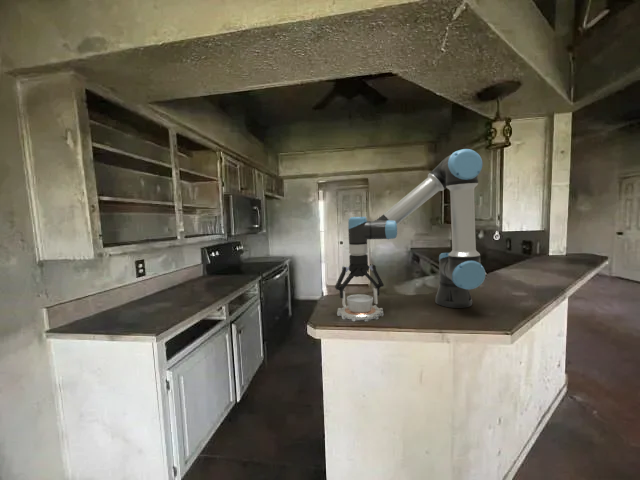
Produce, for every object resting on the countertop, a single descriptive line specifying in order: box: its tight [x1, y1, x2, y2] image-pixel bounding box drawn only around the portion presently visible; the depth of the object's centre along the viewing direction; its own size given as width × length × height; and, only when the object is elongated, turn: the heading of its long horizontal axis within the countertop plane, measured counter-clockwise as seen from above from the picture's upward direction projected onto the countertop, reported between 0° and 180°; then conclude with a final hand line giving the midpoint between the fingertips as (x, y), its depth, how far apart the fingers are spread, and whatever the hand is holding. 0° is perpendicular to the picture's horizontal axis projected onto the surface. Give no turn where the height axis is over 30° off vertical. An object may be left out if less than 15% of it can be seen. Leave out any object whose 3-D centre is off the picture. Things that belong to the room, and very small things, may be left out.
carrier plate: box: [336, 304, 385, 322], centre depth 133 cm, size 19×19×2 cm
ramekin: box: [345, 293, 374, 313], centre depth 132 cm, size 11×11×5 cm
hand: (359, 304), depth 132 cm, fingers open, 13 cm apart
